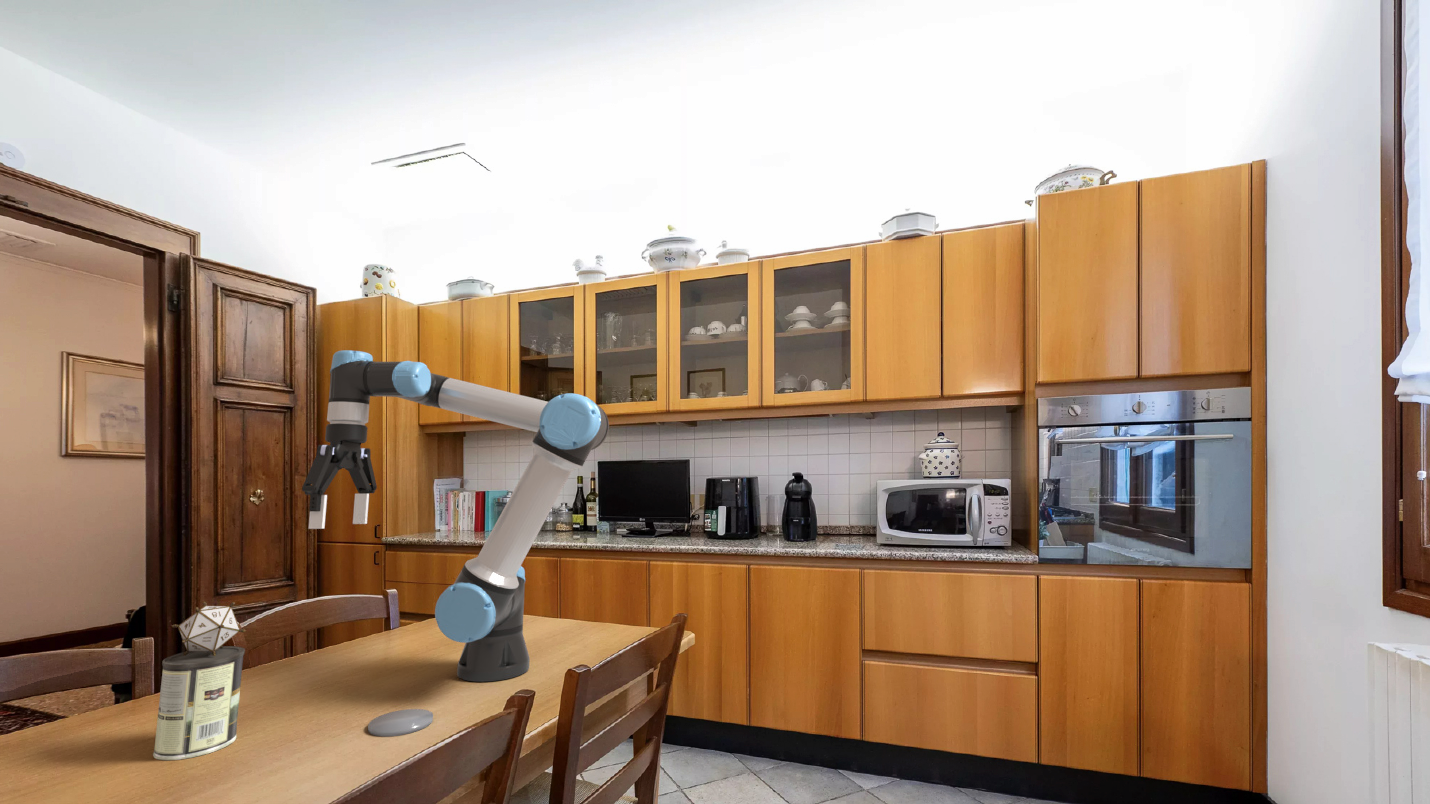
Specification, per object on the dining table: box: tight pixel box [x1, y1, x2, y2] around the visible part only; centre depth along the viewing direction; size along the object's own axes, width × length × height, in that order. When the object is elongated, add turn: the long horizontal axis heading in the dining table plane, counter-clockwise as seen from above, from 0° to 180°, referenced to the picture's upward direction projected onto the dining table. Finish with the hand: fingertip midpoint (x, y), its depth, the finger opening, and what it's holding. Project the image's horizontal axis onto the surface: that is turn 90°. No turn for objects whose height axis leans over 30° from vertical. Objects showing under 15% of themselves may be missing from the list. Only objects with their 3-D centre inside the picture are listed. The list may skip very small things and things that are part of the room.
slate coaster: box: [367, 708, 434, 737], centre depth 106 cm, size 10×10×1 cm
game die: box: [171, 601, 247, 656], centre depth 100 cm, size 9×8×10 cm
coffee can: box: [152, 645, 246, 761], centre depth 98 cm, size 10×10×14 cm
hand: (339, 526), depth 126 cm, fingers open, 13 cm apart
